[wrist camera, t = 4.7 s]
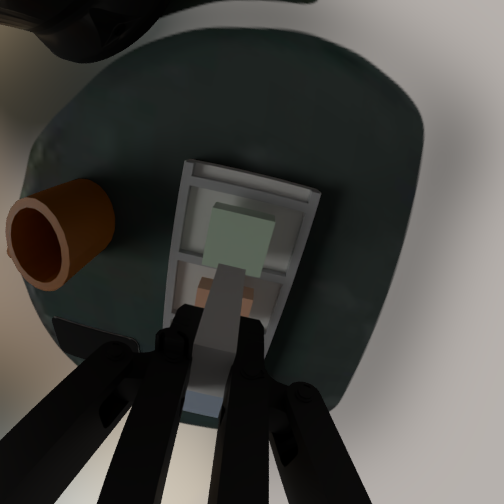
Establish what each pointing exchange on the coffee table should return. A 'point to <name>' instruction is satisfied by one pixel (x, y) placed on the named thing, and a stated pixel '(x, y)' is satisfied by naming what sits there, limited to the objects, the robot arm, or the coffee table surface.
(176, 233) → the keypad
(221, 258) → the key sage
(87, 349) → the smartphone
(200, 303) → the key terracotta
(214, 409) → the key blue
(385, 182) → the coffee table surface
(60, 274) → the mug
